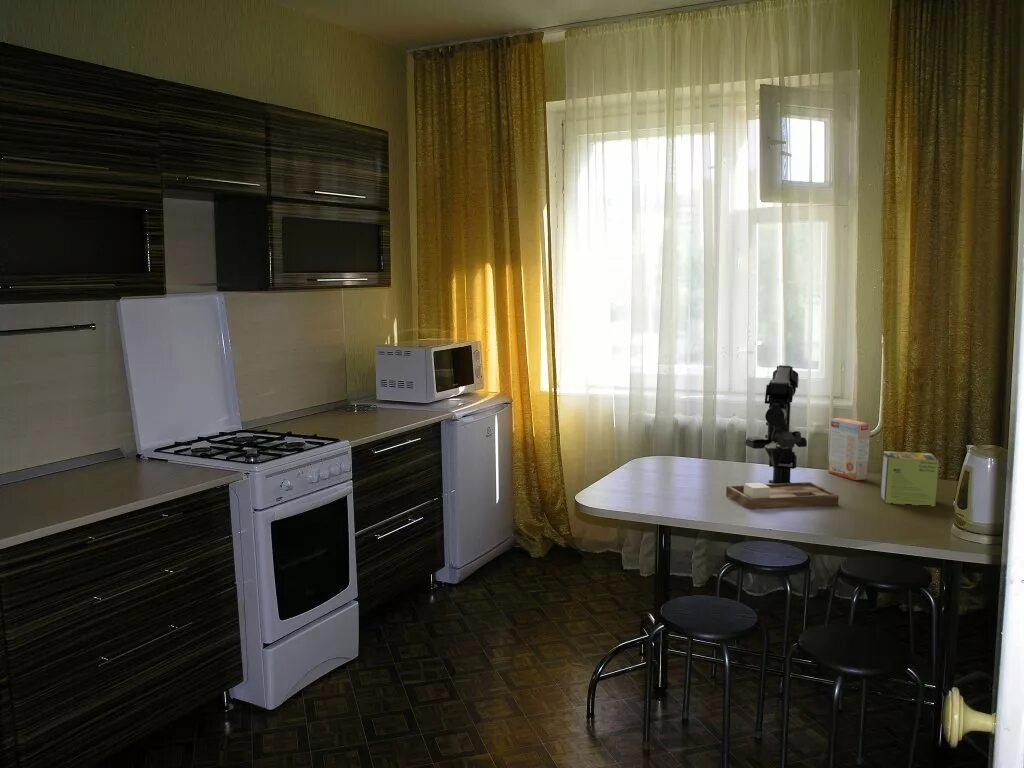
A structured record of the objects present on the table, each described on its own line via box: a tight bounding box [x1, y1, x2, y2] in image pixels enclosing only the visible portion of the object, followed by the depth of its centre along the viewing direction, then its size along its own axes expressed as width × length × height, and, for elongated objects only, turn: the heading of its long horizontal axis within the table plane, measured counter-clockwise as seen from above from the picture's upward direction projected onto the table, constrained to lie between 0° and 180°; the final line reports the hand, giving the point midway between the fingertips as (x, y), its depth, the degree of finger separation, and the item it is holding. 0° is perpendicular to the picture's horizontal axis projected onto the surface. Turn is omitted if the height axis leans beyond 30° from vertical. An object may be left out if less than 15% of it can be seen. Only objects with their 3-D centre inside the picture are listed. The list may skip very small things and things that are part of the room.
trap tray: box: [725, 481, 840, 510], centre depth 284 cm, size 17×31×3 cm, turn 102°
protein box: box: [879, 450, 940, 507], centre depth 284 cm, size 10×15×16 cm
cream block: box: [743, 482, 770, 498], centre depth 278 cm, size 6×6×4 cm
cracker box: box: [827, 417, 872, 481], centre depth 316 cm, size 14×6×21 cm, turn 22°
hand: (775, 468), depth 278 cm, fingers closed
